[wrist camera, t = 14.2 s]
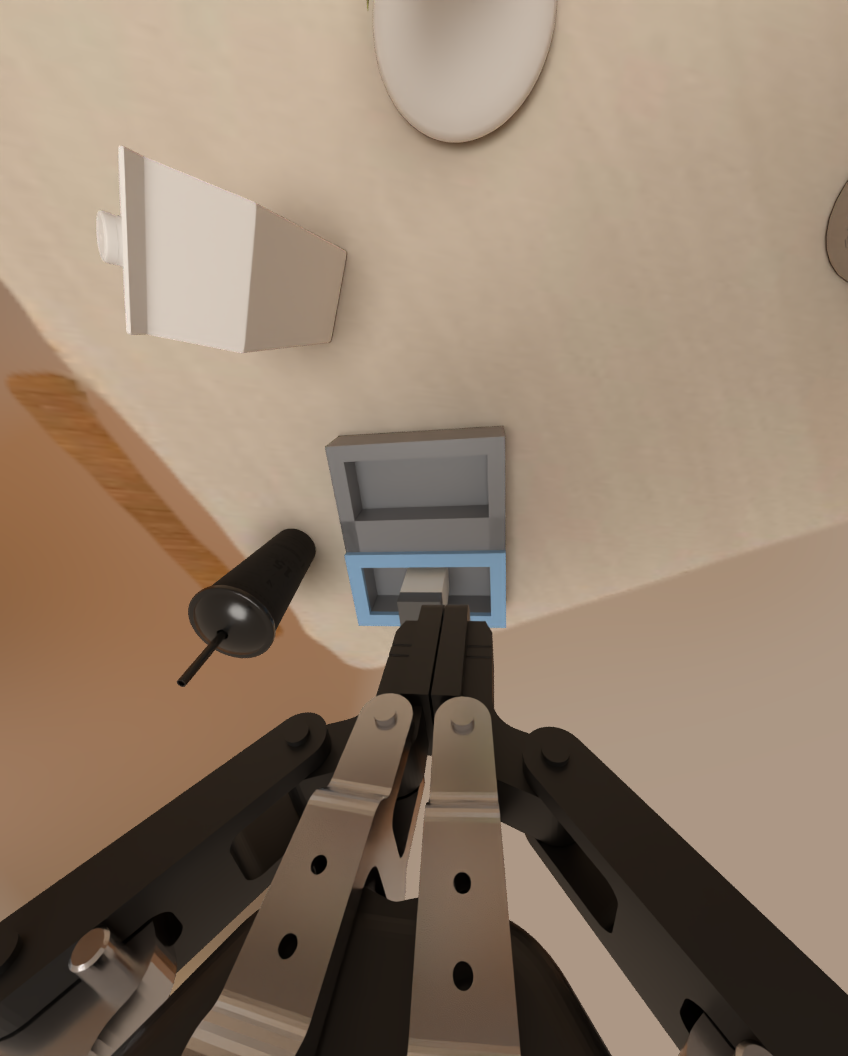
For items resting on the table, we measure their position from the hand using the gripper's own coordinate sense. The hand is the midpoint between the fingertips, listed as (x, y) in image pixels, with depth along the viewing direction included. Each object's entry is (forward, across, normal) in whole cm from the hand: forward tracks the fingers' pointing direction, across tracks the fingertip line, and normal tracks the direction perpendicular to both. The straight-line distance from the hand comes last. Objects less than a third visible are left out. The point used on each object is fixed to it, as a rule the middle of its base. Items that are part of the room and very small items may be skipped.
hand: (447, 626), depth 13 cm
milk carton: (+28, +14, -13) cm, 34 cm away
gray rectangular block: (+27, +6, +15) cm, 32 cm away
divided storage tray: (+28, +6, +10) cm, 30 cm away
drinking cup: (+28, +22, +12) cm, 37 cm away
